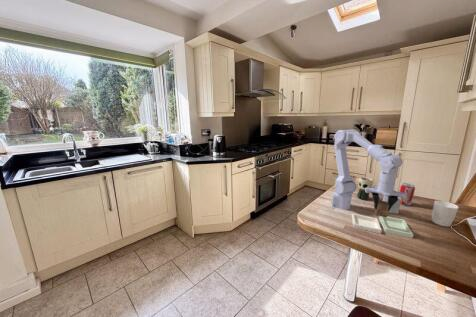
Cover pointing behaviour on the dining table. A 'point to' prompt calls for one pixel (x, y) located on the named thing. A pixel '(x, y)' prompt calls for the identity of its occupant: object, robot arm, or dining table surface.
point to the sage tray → (396, 226)
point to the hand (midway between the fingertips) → (381, 209)
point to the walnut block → (382, 208)
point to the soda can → (407, 193)
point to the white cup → (444, 213)
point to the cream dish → (366, 223)
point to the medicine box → (395, 207)
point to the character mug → (364, 187)
